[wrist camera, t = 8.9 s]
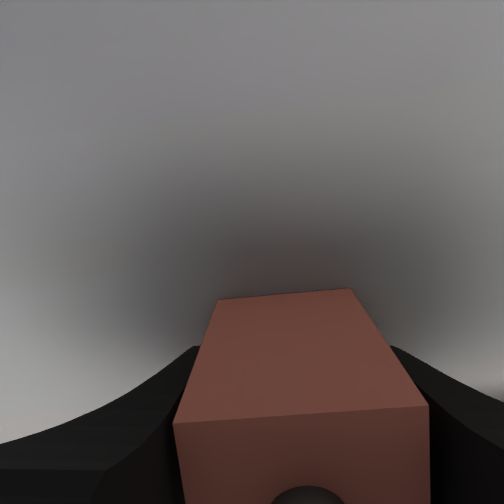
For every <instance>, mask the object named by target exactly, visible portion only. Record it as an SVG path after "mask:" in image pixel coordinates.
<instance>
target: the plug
mask: <svg viewBox="0 0 504 504" xmlns="http://www.w3.org/2000/svg"><path fill="white" fill-rule="evenodd" d="M172 424H173V430H174V436H175V442H176V448H177V454H178V460H179V466H180V472H181V479H182V485H183V491H184V497H185V503H186V504H430V441H429V405H428V403H427V402H426V400H425V399H424V397H423V396H422V394H421V393H420V391H419V390H418V388H417V387H416V385H415V384H414V382H413V381H412V379H411V378H410V376H409V375H408V373H407V372H406V370H405V369H404V367H403V366H402V364H401V363H400V361H399V360H398V358H397V357H396V355H395V354H394V352H393V351H392V349H391V348H390V346H389V345H388V343H387V342H386V340H385V339H384V337H383V336H382V334H381V333H380V331H379V330H378V328H377V327H376V325H375V324H374V322H373V321H372V319H371V318H370V317H369V315H368V314H367V312H366V311H365V309H364V308H363V306H362V305H361V303H360V302H359V300H358V299H357V297H356V296H355V294H354V293H353V291H352V290H351V288H347V289H335V290H324V291H312V292H301V293H290V294H278V295H267V296H256V297H244V298H233V299H222V300H217V303H216V306H215V309H214V311H213V314H212V317H211V320H210V322H209V325H208V328H207V330H206V333H205V336H204V339H203V341H202V344H201V347H200V350H199V352H198V355H197V358H196V361H195V363H194V366H193V369H192V372H191V374H190V377H189V380H188V382H187V385H186V388H185V391H184V393H183V396H182V399H181V402H180V404H179V407H178V410H177V413H176V415H175V418H174V421H173V423H172Z"/></svg>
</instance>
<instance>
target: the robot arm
mask: <svg viewBox="0 0 504 504" xmlns="http://www.w3.org/2000/svg"><path fill="white" fill-rule="evenodd" d="M200 347H201V346H193V347H191V348H190V349H188V350H187V351H186V352H184V353H183V354H182V355H181V356H179V357H178V358H177V359H175V360H174V361H173V362H171V363H170V364H169V365H168V366H166V367H165V368H164V369H162V370H161V371H160V372H158V373H157V374H155V375H154V376H152V377H151V378H149V379H148V380H146V381H145V382H143V383H142V384H141V385H139V386H138V387H136V388H135V389H133V390H131V391H130V392H128V393H126V394H125V395H123V396H121V397H119V398H118V399H116V400H114V401H112V402H110V403H108V404H106V405H104V406H102V407H100V408H98V409H96V410H94V411H92V412H89V413H87V414H85V415H82V416H80V417H78V418H75V419H73V420H71V421H68V422H66V423H64V424H61V425H58V426H56V427H53V428H50V429H47V430H44V431H42V432H39V433H36V434H32V435H29V436H26V437H23V438H20V439H17V440H13V441H10V442H6V443H2V444H0V504H186V503H185V497H184V491H183V485H182V479H181V472H180V466H179V460H178V454H177V448H176V442H175V436H174V430H173V424H172V423H173V421H174V418H175V415H176V413H177V410H178V407H179V404H180V402H181V399H182V396H183V393H184V391H185V388H186V385H187V382H188V380H189V377H190V374H191V372H192V369H193V366H194V363H195V361H196V358H197V355H198V352H199V350H200ZM390 348H391V349H392V351H393V352H394V354H395V355H396V357H397V358H398V360H399V361H400V363H401V364H402V366H403V367H404V369H405V370H406V372H407V373H408V375H409V376H410V378H411V379H412V381H413V382H414V384H415V385H416V387H417V388H418V390H419V391H420V393H421V394H422V396H423V397H424V399H425V400H426V402H427V403H428V405H429V441H430V504H504V402H501V401H499V400H496V399H494V398H492V397H490V396H487V395H485V394H483V393H481V392H479V391H477V390H475V389H473V388H471V387H469V386H467V385H465V384H463V383H461V382H459V381H457V380H455V379H453V378H451V377H449V376H447V375H446V374H444V373H442V372H440V371H438V370H437V369H435V368H433V367H431V366H430V365H428V364H426V363H424V362H423V361H421V360H419V359H417V358H416V357H414V356H412V355H410V354H408V353H407V352H405V351H403V350H401V349H399V348H397V347H394V346H390Z"/></svg>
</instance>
